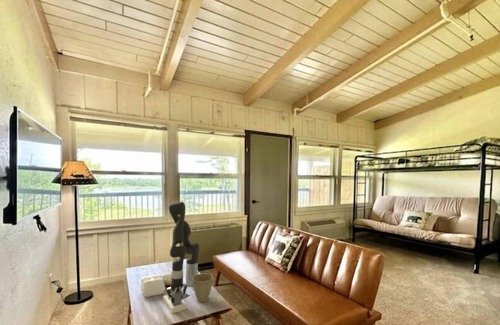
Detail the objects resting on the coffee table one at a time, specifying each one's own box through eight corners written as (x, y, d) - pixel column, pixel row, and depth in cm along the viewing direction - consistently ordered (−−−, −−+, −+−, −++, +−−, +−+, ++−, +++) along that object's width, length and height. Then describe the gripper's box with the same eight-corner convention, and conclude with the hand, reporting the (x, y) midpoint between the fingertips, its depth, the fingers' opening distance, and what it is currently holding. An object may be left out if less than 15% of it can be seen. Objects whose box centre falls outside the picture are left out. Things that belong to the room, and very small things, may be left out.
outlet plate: (176, 296, 186) (177, 292, 187) (186, 309, 170) (186, 304, 170) (163, 300, 181) (163, 296, 181) (171, 313, 164) (171, 308, 164)
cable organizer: (141, 298, 183) (142, 282, 183) (140, 292, 192) (141, 276, 193) (163, 294, 190) (164, 278, 190) (161, 288, 199) (161, 273, 200)
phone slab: (180, 291, 195) (180, 290, 195) (189, 296, 188) (189, 295, 188) (173, 294, 191) (174, 293, 191) (182, 299, 184) (182, 297, 184)
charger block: (178, 303, 175) (179, 289, 175) (180, 306, 171) (181, 292, 171) (172, 305, 172) (172, 291, 173) (174, 308, 169) (174, 294, 169)
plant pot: (212, 294, 191) (213, 272, 192) (213, 304, 177) (213, 281, 177) (192, 295, 189) (192, 273, 189) (191, 305, 174) (191, 282, 175)
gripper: (185, 272, 180) (185, 296, 179) (165, 276, 172) (164, 302, 171) (189, 275, 173) (188, 301, 173) (168, 280, 165) (167, 307, 165)
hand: (176, 301), depth 172 cm, fingers open, 4 cm apart
